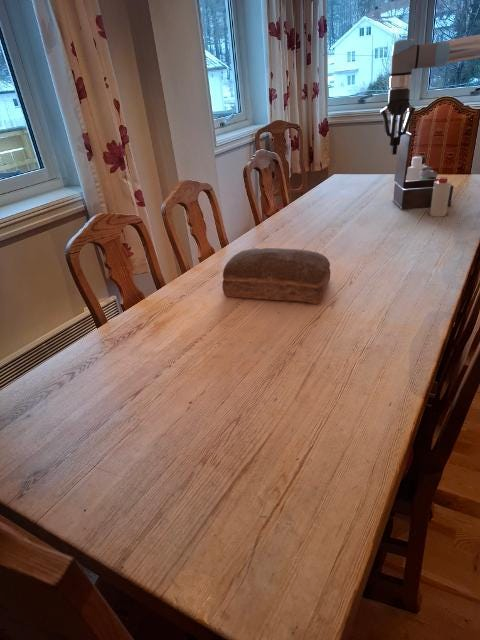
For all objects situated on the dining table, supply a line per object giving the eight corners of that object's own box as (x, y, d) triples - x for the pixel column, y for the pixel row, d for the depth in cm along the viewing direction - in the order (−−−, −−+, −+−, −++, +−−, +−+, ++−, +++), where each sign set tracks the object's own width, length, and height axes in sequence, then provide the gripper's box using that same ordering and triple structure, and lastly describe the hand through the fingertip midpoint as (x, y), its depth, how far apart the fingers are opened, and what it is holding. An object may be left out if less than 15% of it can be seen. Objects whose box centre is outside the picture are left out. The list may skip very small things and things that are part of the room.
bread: (322, 306, 114) (322, 267, 108) (220, 297, 124) (215, 261, 118) (332, 279, 128) (333, 243, 122) (239, 273, 137) (236, 239, 132)
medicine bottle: (412, 179, 219) (415, 154, 213) (426, 180, 214) (429, 155, 208) (405, 182, 215) (408, 157, 209) (419, 183, 210) (422, 158, 204)
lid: (402, 129, 175) (400, 129, 175) (412, 134, 164) (410, 134, 164) (395, 180, 186) (394, 180, 186) (404, 188, 174) (402, 188, 174)
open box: (438, 197, 188) (441, 178, 184) (450, 206, 177) (453, 186, 172) (393, 200, 190) (394, 181, 186) (401, 209, 178) (403, 189, 174)
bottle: (442, 211, 172) (448, 175, 165) (448, 215, 167) (454, 179, 160) (427, 212, 173) (432, 176, 166) (432, 217, 168) (437, 180, 161)
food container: (415, 188, 204) (418, 166, 199) (429, 188, 202) (432, 166, 197) (419, 195, 193) (422, 172, 188) (434, 195, 192) (437, 172, 187)
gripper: (414, 86, 164) (407, 151, 176) (379, 89, 166) (375, 153, 178) (420, 86, 158) (412, 154, 170) (384, 90, 159) (379, 157, 171)
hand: (393, 153), depth 174 cm, fingers closed
